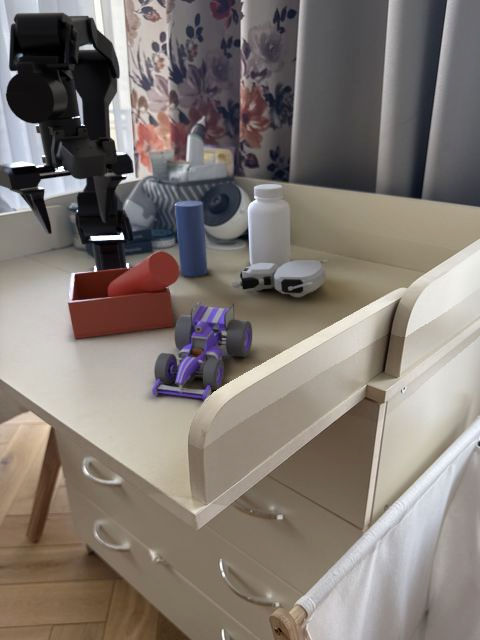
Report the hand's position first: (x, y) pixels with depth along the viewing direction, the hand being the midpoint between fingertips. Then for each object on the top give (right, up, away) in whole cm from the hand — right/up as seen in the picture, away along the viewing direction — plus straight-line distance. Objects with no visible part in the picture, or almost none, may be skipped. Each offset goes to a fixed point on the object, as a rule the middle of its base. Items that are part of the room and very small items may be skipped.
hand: (78, 227), depth 83 cm
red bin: (+6, -13, +2) cm, 15 cm away
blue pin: (+15, -4, +20) cm, 25 cm away
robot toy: (+32, -9, +11) cm, 34 cm away
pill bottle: (+30, -2, +23) cm, 38 cm away
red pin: (+6, -10, +3) cm, 12 cm away
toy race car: (+21, -22, -14) cm, 33 cm away
